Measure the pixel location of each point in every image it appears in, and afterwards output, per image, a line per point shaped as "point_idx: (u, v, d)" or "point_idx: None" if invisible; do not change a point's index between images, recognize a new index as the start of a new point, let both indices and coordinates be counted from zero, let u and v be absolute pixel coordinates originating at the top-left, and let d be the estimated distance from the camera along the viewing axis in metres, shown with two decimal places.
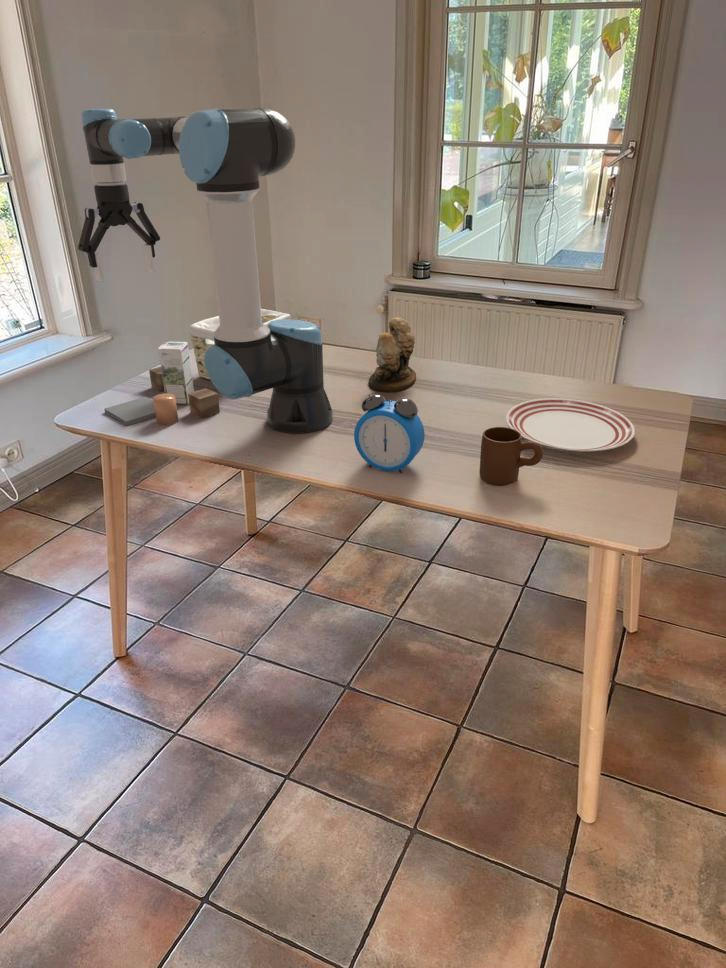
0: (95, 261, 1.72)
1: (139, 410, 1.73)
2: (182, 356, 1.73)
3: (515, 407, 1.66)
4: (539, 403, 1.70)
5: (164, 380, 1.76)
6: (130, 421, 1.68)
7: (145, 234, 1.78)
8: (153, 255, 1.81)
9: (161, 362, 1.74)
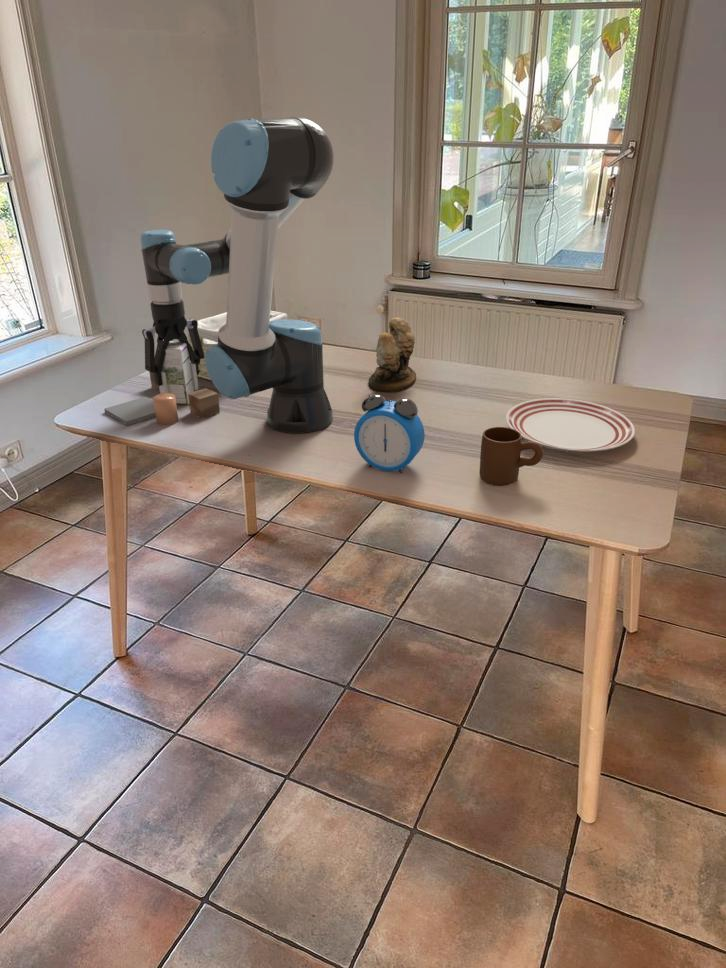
0: (161, 380, 1.74)
1: (139, 410, 1.73)
2: (182, 356, 1.73)
3: (515, 407, 1.66)
4: (539, 403, 1.70)
5: None
6: (130, 421, 1.68)
7: (192, 352, 1.77)
8: (197, 372, 1.81)
9: None
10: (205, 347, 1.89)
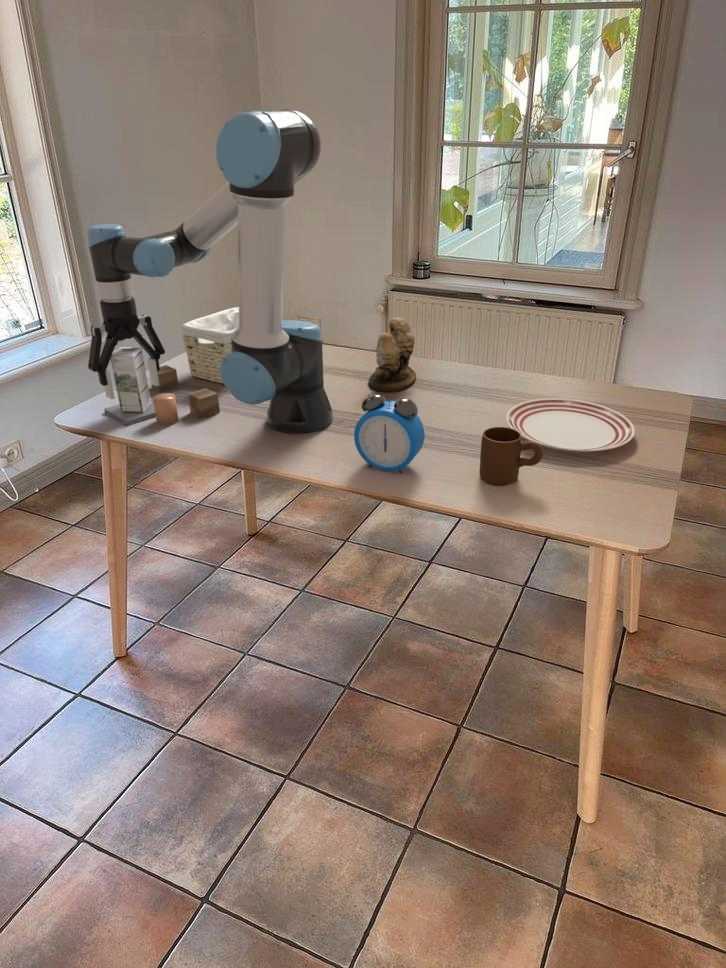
0: (106, 379, 1.66)
1: None
2: (135, 362, 1.66)
3: (515, 407, 1.66)
4: (540, 403, 1.70)
5: (117, 387, 1.69)
6: (130, 421, 1.68)
7: (150, 348, 1.70)
8: (158, 369, 1.74)
9: (113, 369, 1.67)
10: (200, 346, 1.89)
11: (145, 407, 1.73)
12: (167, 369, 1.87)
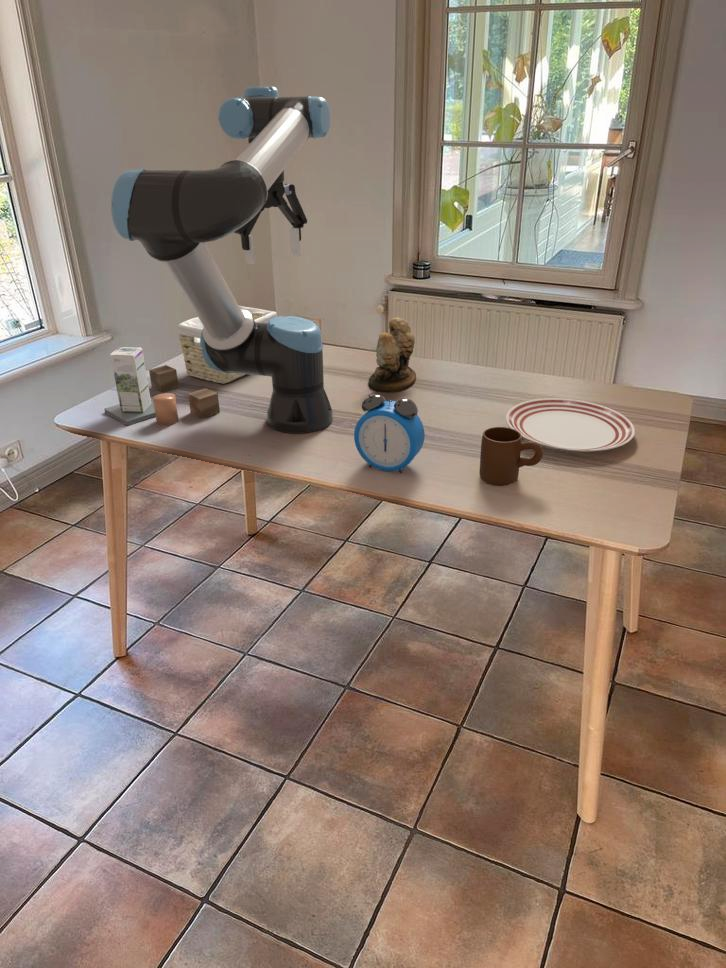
0: (248, 244, 1.68)
1: None
2: (135, 362, 1.66)
3: (515, 407, 1.66)
4: (540, 403, 1.70)
5: (117, 387, 1.69)
6: (130, 421, 1.68)
7: (294, 217, 1.74)
8: (299, 238, 1.78)
9: (114, 369, 1.67)
10: (196, 346, 1.90)
11: (145, 407, 1.73)
12: (167, 369, 1.87)
